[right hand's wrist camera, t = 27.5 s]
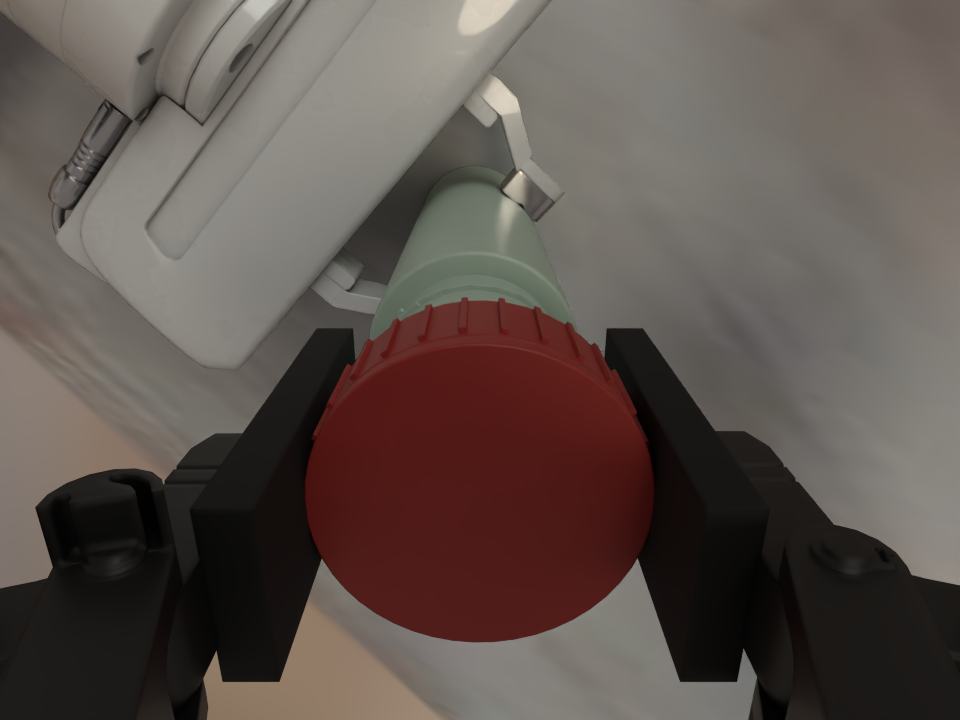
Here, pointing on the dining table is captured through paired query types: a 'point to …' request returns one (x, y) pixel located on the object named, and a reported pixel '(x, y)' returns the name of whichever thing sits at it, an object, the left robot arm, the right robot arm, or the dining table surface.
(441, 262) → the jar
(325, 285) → the left robot arm
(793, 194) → the dining table surface
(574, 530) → the lid
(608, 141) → the dining table surface
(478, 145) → the dining table surface
